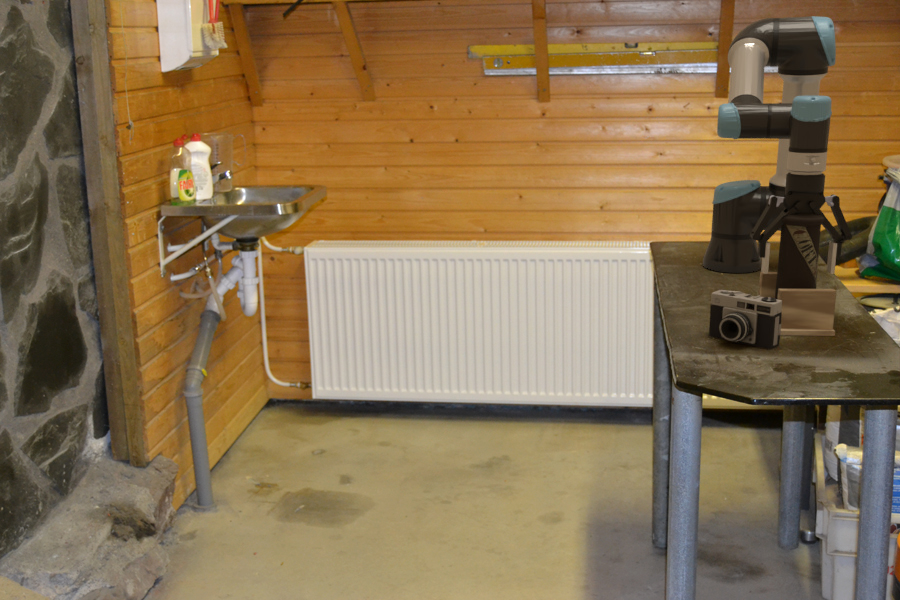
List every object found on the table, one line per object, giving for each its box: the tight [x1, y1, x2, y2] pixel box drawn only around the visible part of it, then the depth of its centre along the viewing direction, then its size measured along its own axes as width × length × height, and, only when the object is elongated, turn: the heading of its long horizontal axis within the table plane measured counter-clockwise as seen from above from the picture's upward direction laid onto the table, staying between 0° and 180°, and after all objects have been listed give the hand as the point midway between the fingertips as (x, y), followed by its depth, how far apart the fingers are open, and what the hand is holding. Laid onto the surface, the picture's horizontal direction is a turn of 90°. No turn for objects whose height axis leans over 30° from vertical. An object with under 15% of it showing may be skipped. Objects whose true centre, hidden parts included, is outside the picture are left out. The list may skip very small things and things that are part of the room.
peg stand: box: [758, 271, 837, 337], centre depth 191 cm, size 20×11×9 cm, turn 175°
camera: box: [708, 289, 782, 350], centre depth 178 cm, size 14×9×10 cm, turn 37°
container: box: [775, 213, 825, 299], centre depth 188 cm, size 9×9×20 cm
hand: (797, 272), depth 189 cm, fingers open, 13 cm apart
